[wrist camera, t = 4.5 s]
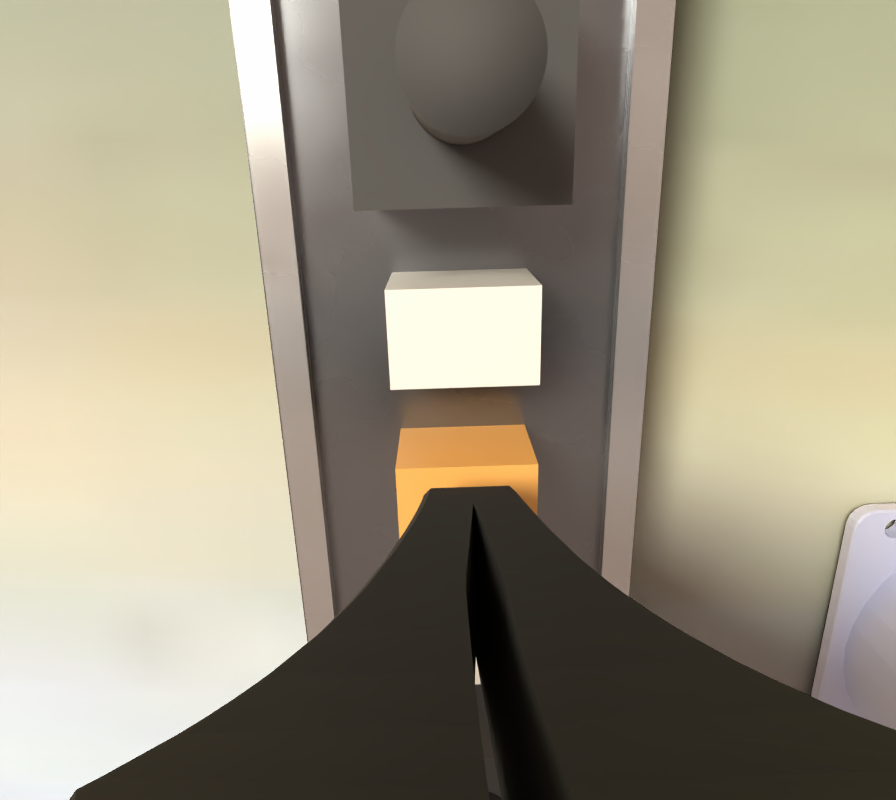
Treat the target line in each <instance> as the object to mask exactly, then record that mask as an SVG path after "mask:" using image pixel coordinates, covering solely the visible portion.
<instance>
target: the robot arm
mask: <svg viewBox="0 0 896 800" xmlns="http://www.w3.org/2000/svg"><path fill="white" fill-rule="evenodd" d="M892 520H896V503H887V504H868V505H863V506H861V507H859V508H857V509H855V510H854V511H853V512H852V513H851V514H850V515H849V517H848V520H847V522H846V526H845V531H844V536H843V541H842V546H841V551H840V555H839V560H838V565H837V570H836V575H835V580H834V585H833V590H832V595H831V600H830V605H829V609H828V614H827V619H826V624H825V629H824V634H823V639H822V644H821V649H820V654H819V659H818V663H817V668H816V673H815V678H814V683H813V688H812V693H811V696H809V695H807V694H805V693H802V692H800V691H798V690H796V689H794V688H791V687H789V686H787V685H785V684H782V683H780V682H778V681H776V680H773V679H771V678H769V677H767V676H765V675H763V674H761V673H759V672H757V671H755V670H753V669H751V668H749V667H747V666H745V665H743V664H741V663H739V662H737V661H735V660H733V659H731V658H729V657H727V656H725V655H724V654H722V653H720V652H718V651H716V650H715V649H713V648H711V647H709V646H707V645H706V644H704V643H702V642H700V641H698V640H696V639H695V638H693V637H691V636H689V635H687V634H686V633H684V632H682V631H681V630H679V629H677V628H676V627H674V626H672V625H671V624H669V623H668V622H666V621H664V620H663V619H661V618H660V617H658V616H657V615H655V614H654V613H652V612H651V611H649V610H648V609H646V608H645V607H643V606H642V605H640V604H639V603H638V602H636V601H635V600H633V599H632V598H630V597H629V596H627V595H626V594H624V593H623V592H622V591H620V590H619V589H618V588H616V587H615V586H614V585H612V584H611V583H610V582H608V581H607V580H606V579H605V578H603V577H602V576H601V575H600V574H599V573H597V572H596V571H595V570H594V569H593V568H591V567H590V566H589V565H588V564H586V563H585V562H584V561H583V560H582V559H580V558H579V557H578V556H577V555H576V554H575V553H574V552H573V551H572V550H571V549H570V548H569V547H568V546H567V545H566V544H565V543H564V542H563V541H562V540H560V539H559V538H558V537H557V536H556V535H555V534H554V533H553V532H552V531H551V530H550V529H549V528H548V527H547V526H546V525H545V523H544V522H543V521H542V520H541V519H540V518H539V517H538V516H537V515H536V514H535V513H534V512H533V511H532V509H531V508H530V507H529V506H528V505H527V504H526V503H525V502H524V500H523V499H522V498H521V497H520V496H519V495H518V494H517V492H516V491H515V490H513V489H512V488H511V487H510V486H481V487H451V488H431V489H429V490H428V491H427V492H426V493H425V494H424V496H423V499H422V501H421V503H420V505H419V507H418V509H417V511H416V513H415V515H414V517H413V518H412V520H411V522H410V523H409V525H408V527H407V529H406V530H405V532H404V533H403V535H402V536H401V538H400V539H399V540H398V542H397V543H396V545H395V546H394V548H393V549H392V551H391V552H390V554H389V555H388V557H387V558H386V559H385V561H384V562H383V563H382V564H381V566H380V567H379V568H378V569H377V571H376V572H375V573H374V574H373V576H372V577H371V578H370V579H369V581H368V582H367V583H366V584H365V585H364V587H363V588H362V589H361V590H360V591H359V593H358V594H357V595H356V596H355V597H354V598H353V599H352V600H351V601H350V603H349V604H348V605H347V606H346V607H345V608H344V609H343V610H342V611H341V612H340V613H339V614H338V615H337V616H336V617H335V618H334V619H333V620H332V621H331V622H330V623H329V624H328V625H327V626H326V627H325V628H324V629H323V630H322V631H321V632H320V633H319V634H318V635H316V636H315V637H314V638H313V639H312V640H311V641H309V642H308V643H307V644H306V645H305V646H303V647H302V648H301V649H300V650H298V651H297V652H296V653H295V654H294V655H292V656H291V657H290V658H289V659H287V660H286V661H285V662H284V663H282V664H281V665H280V666H279V667H278V668H276V669H275V670H274V671H273V672H271V673H270V674H269V675H267V676H266V677H265V678H263V679H262V680H260V681H259V682H258V683H256V684H255V685H253V686H252V687H250V688H249V689H248V690H246V691H245V692H243V693H242V694H240V695H239V696H238V697H236V698H235V699H233V700H232V701H230V702H229V703H227V704H225V705H224V706H222V707H221V708H219V709H218V710H216V711H215V712H213V713H212V714H210V715H209V716H207V717H205V718H204V719H202V720H201V721H199V722H198V723H196V724H194V725H193V726H191V727H189V728H188V729H186V730H184V731H183V732H181V733H179V734H178V735H176V736H174V737H172V738H171V739H169V740H167V741H165V742H163V743H162V744H160V745H158V746H156V747H154V748H153V749H151V750H149V751H147V752H145V753H144V754H142V755H140V756H138V757H136V758H135V759H133V760H131V761H129V762H127V763H126V764H124V765H122V766H120V767H118V768H116V769H115V770H113V771H111V772H109V773H107V774H106V775H104V776H102V777H100V778H98V779H96V780H94V781H92V782H90V783H88V784H87V785H85V786H83V787H81V788H79V789H77V790H76V791H75V792H74V794H73V795H72V797H71V798H70V800H490V799H489V793H488V785H487V778H486V770H485V762H484V755H483V747H482V739H481V732H480V724H479V715H478V706H477V697H476V688H475V667H476V660H477V666H478V671H479V677H480V683H481V688H482V694H483V699H484V705H485V711H486V716H487V722H488V727H489V733H490V738H491V744H492V749H493V755H494V760H495V766H496V771H497V777H498V782H499V788H500V793H501V800H896V521H895V523H894V524H893V525H892V526H891V527H890V528H888V529H885V528H886V526H887V524H888V523H890V522H891V521H892Z"/></svg>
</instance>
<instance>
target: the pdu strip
mask: <svg viewBox="0 0 896 800" xmlns="http://www.w3.org/2000/svg"><path fill="white" fill-rule="evenodd" d="M675 6H676V0H580V8H579V36H578V64H577V93H576V121H575V149H574V177H573V205H541V206H508V207H474V208H441V209H407V210H373V211H354V205H353V192H352V178H351V164H350V151H349V137H348V124H347V110H346V96H345V83H344V69H343V56H342V42H341V28H340V15H339V1H338V0H229V7H230V15H231V23H232V31H233V40H234V48H235V56H236V64H237V72H238V80H239V88H240V96H241V105H242V113H243V121H244V129H245V137H246V145H247V153H248V161H249V170H250V178H251V186H252V194H253V202H254V210H255V218H256V226H257V235H258V243H259V251H260V259H261V267H262V275H263V283H264V292H265V300H266V308H267V316H268V324H269V332H270V340H271V348H272V357H273V365H274V373H275V381H276V389H277V397H278V405H279V413H280V422H281V430H282V438H283V446H284V454H285V462H286V470H287V479H288V487H289V495H290V503H291V511H292V519H293V527H294V535H295V544H296V552H297V560H298V568H299V576H300V584H301V592H302V600H303V609H304V617H305V625H306V633H307V641H308V642H309V641H311V640H312V639H313V638H314V637H315V636H316V635H318V634H319V633H320V632H321V631H322V630H323V629H324V628H325V627H326V626H327V625H328V624H329V623H330V622H331V621H332V620H333V619H334V618H335V617H336V616H337V615H338V614H339V613H340V612H341V611H342V610H343V609H344V608H345V607H346V606H347V605H348V604H349V603H350V601H351V600H352V599H353V598H354V597H355V596H356V595H357V594H358V593H359V591H360V590H361V589H362V588H363V587H364V585H365V584H366V583H367V582H368V581H369V579H370V578H371V577H372V576H373V574H374V573H375V572H376V571H377V569H378V568H379V567H380V566H381V564H382V563H383V562H384V561H385V559H386V558H387V557H388V555H389V554H390V552H391V551H392V549H393V548H394V546H395V545H396V543H397V542H398V540H399V522H398V506H397V489H396V473H395V467H396V460H397V453H398V445H399V438H400V430H401V428H432V427H463V426H494V425H525V427H526V430H527V433H528V436H529V439H530V442H531V445H532V448H533V450H534V453H535V456H536V459H537V462H538V504H537V516H538V517H539V518H540V519H541V520H542V521H543V522H544V523H545V525H546V526H547V527H548V528H549V529H550V530H551V531H552V532H553V533H554V534H555V535H556V536H557V537H558V538H559V539H560V540H562V541H563V542H564V543H565V544H566V545H567V546H568V547H569V548H570V549H571V550H572V551H573V552H574V553H575V554H576V555H577V556H578V557H579V558H580V559H582V560H583V561H584V562H585V563H586V564H588V565H589V566H590V567H591V568H593V569H594V570H595V571H596V572H597V573H599V574H600V575H601V576H602V577H603V578H605V579H606V580H607V581H608V582H610V583H611V584H612V585H614V586H615V587H616V588H618V589H619V590H620V591H622V592H623V593H624V594H626V595H627V596H629V589H630V577H631V564H632V551H633V539H634V526H635V513H636V501H637V488H638V475H639V463H640V450H641V437H642V425H643V412H644V399H645V386H646V374H647V361H648V348H649V336H650V323H651V310H652V298H653V285H654V272H655V260H656V247H657V234H658V222H659V209H660V196H661V183H662V171H663V158H664V145H665V133H666V120H667V107H668V95H669V82H670V69H671V57H672V44H673V31H674V18H675ZM520 268H527V269H528V270H529V272H530V273H531V274H532V275H533V276H534V277H535V278H536V279H537V280H538V281H539V282H540V284H541V285H542V315H541V362H540V385H528V386H497V387H465V388H434V389H402V390H390V374H389V357H388V341H387V325H386V308H385V292H384V290H385V288H386V285H387V283H388V281H389V278H390V276H391V274H392V272H421V271H454V270H487V269H520Z"/></svg>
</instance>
